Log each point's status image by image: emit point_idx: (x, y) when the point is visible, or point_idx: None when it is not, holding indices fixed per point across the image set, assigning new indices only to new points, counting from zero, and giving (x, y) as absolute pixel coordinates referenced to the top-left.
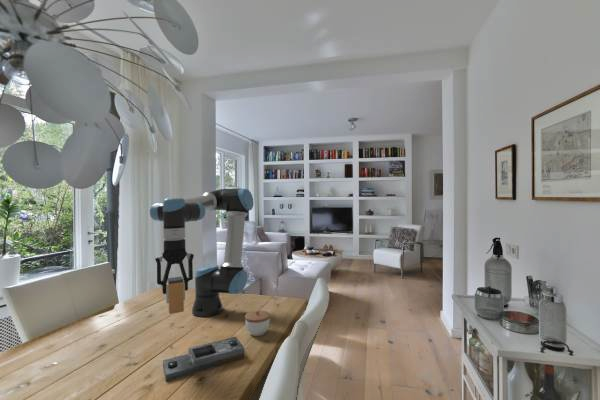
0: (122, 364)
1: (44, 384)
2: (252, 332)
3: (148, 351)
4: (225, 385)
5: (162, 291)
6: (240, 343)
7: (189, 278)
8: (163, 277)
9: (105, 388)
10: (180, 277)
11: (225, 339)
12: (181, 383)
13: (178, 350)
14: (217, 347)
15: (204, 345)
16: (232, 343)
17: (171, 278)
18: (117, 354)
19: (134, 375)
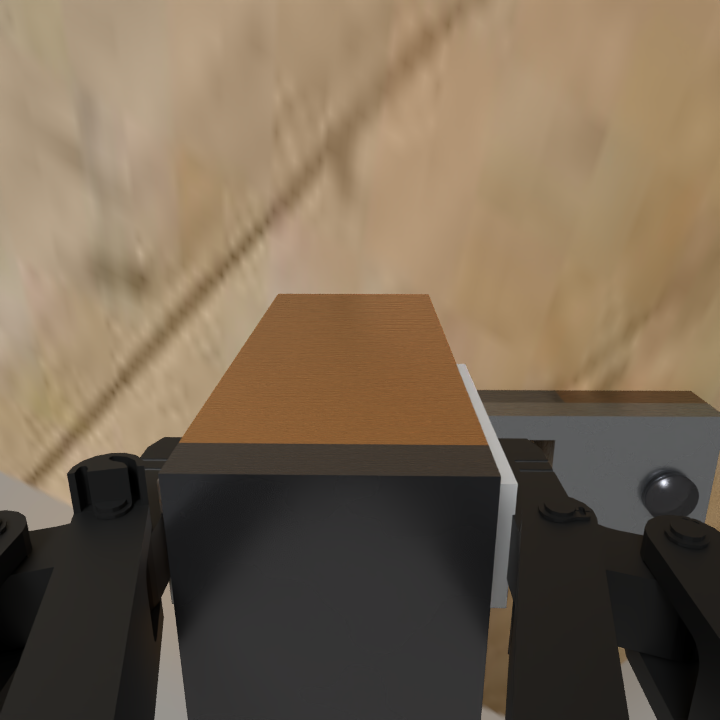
0: (66, 251)
1: None
2: None
3: (200, 156)
4: (501, 663)
5: (145, 459)
6: (703, 513)
7: (628, 648)
8: (48, 585)
9: (32, 447)
10: (463, 557)
11: (653, 420)
12: None
13: (377, 249)
14: (569, 493)
15: (511, 431)
16: (659, 514)
17: (255, 537)
18: (8, 87)
19: (144, 404)
